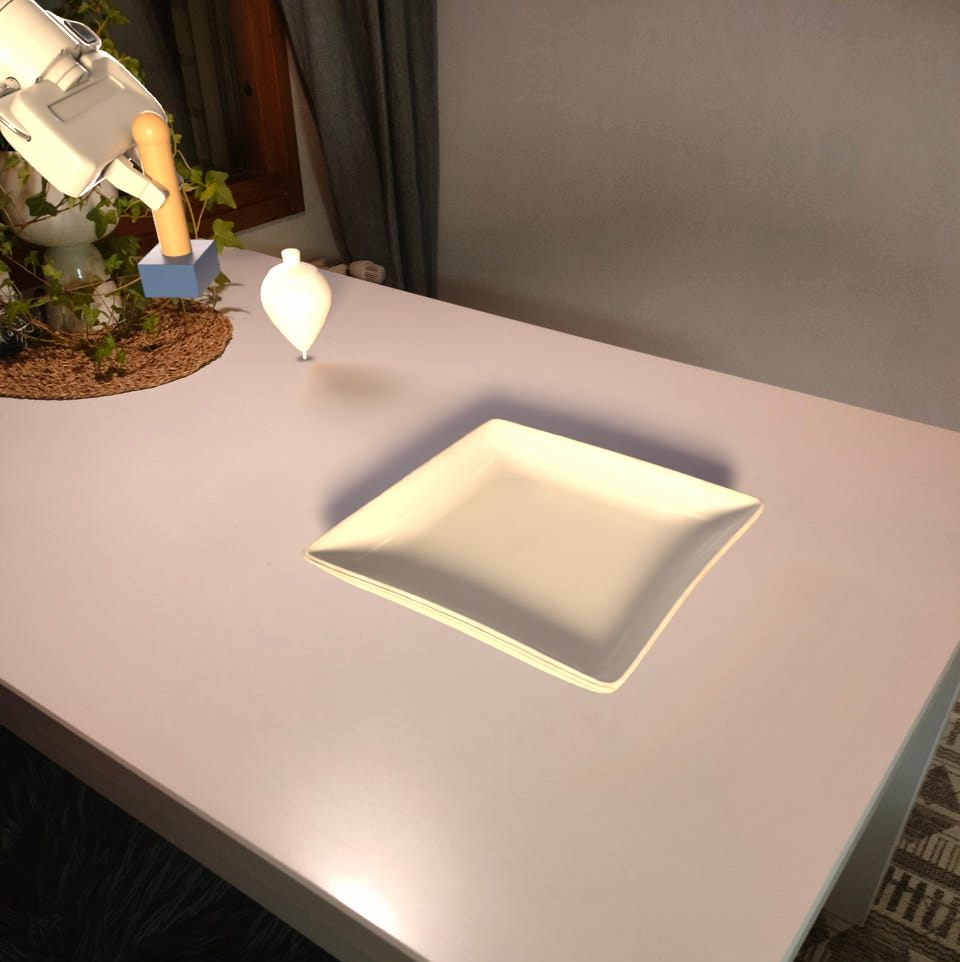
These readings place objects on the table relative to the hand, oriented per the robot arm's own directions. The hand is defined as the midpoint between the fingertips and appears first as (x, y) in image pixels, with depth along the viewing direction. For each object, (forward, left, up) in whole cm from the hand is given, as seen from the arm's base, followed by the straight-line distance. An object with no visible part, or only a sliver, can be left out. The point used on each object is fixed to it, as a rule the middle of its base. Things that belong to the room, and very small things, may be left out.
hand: (171, 196), depth 83 cm
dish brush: (-1, 0, -8) cm, 8 cm away
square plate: (+31, -31, -21) cm, 48 cm away
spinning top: (+9, +11, -21) cm, 25 cm away
